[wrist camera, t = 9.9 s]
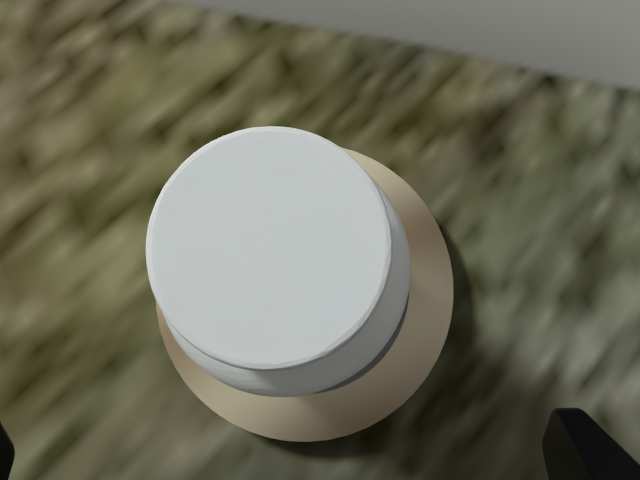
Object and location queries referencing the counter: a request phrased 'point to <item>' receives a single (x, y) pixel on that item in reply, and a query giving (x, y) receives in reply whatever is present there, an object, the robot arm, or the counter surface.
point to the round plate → (381, 373)
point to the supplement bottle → (277, 261)
